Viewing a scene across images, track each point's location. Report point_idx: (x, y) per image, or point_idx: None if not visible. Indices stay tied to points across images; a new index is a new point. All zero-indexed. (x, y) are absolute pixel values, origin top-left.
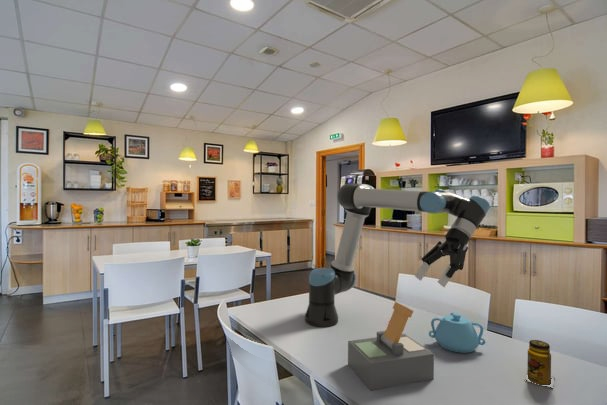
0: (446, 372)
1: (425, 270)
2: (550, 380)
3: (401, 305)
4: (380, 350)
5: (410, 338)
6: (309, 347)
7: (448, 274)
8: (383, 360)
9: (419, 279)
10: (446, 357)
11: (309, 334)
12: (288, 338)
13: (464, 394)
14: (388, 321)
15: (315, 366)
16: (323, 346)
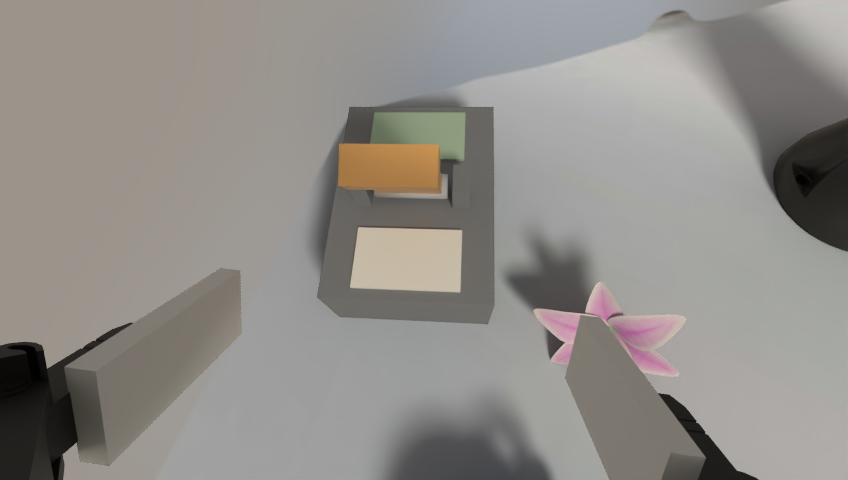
0: (351, 384)
1: (607, 442)
2: None
3: (381, 144)
4: None
5: (447, 300)
6: (609, 98)
7: (116, 330)
8: (349, 139)
9: (569, 361)
10: (431, 472)
11: (707, 122)
12: (681, 66)
13: (250, 342)
14: (649, 330)
15: (501, 84)
16: (609, 132)
